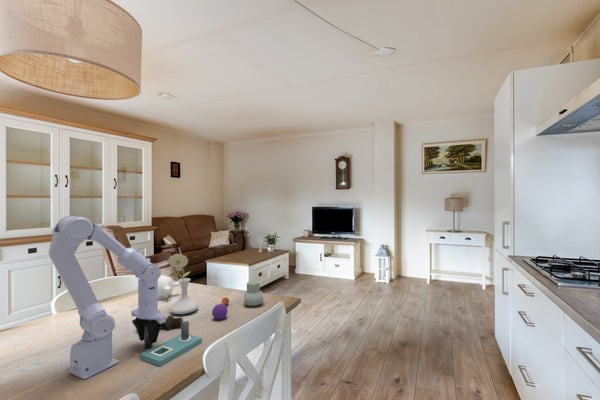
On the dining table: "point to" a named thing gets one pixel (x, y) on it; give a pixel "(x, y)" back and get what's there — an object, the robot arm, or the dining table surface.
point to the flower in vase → (182, 287)
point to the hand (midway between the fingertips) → (148, 341)
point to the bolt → (172, 322)
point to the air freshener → (253, 294)
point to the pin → (146, 339)
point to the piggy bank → (165, 286)
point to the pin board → (171, 347)
